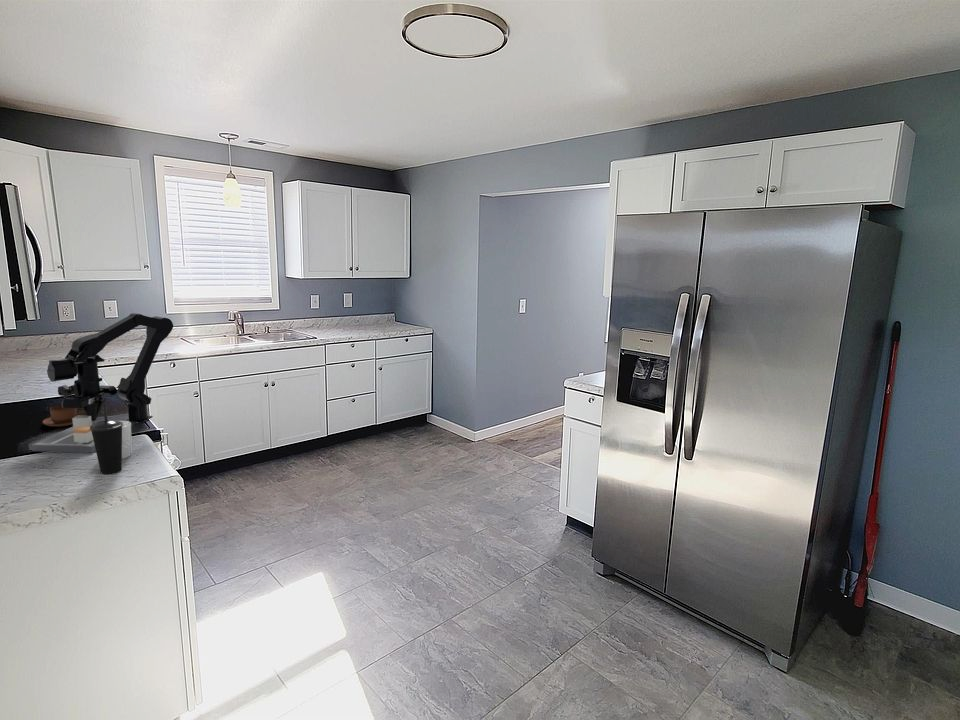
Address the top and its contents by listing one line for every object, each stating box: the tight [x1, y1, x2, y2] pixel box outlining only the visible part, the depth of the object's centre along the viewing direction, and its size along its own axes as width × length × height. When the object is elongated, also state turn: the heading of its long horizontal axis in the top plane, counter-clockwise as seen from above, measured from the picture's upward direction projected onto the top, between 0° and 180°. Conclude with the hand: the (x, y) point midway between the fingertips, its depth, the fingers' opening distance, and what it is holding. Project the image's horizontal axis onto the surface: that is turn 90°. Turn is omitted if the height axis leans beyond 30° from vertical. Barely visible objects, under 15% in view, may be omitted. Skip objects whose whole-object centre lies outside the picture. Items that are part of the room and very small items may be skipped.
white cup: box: [119, 420, 133, 460], centre depth 161 cm, size 8×8×10 cm
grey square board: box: [31, 426, 96, 454], centre depth 172 cm, size 18×18×2 cm
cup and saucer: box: [42, 404, 86, 428], centre depth 188 cm, size 12×12×6 cm
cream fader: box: [72, 415, 93, 429], centre depth 177 cm, size 3×4×4 cm
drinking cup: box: [90, 402, 123, 476], centre depth 150 cm, size 8×8×20 cm
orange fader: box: [73, 427, 93, 443], centre depth 167 cm, size 3×4×4 cm
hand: (93, 420), depth 183 cm, fingers closed
